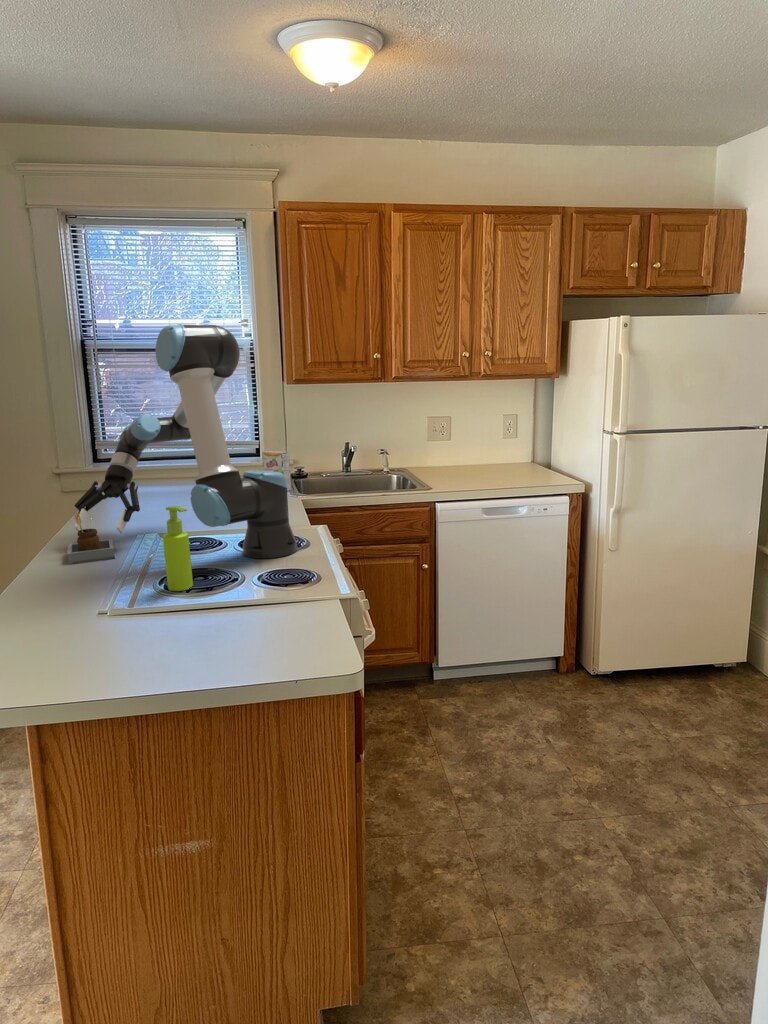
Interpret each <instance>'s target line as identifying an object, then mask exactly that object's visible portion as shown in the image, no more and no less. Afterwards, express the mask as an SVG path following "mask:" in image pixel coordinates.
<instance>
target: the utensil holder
mask: <svg viewBox="0 0 768 1024" xmlns="http://www.w3.org/2000/svg"><path fill="white" fill-rule="evenodd" d="M77 514H78V515H77ZM73 516H74V519H75V523H76V522H77V524H79V526H80V528H81V530H80V531H77V536H78V537H77V539H76V541H77V542H76V543H77V544H78V551H79V552H80V551H89V550H97V549H101V547H100V537H99V535H98V530H97V528H95V523H93V527H92V528H83V529H82V527H81V523H82V522H81V519H80V516H79V513H78V512H76V513H73ZM76 516H77V517H76ZM78 517H79V518H78ZM77 519H78V520H77ZM89 520H90V525H92V520H93V521H96V519H95V518H94V517H91V516H89V517H88V518H87V519H86V521H85V523H86V527H88V525H89V524H88V523H89Z"/></svg>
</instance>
